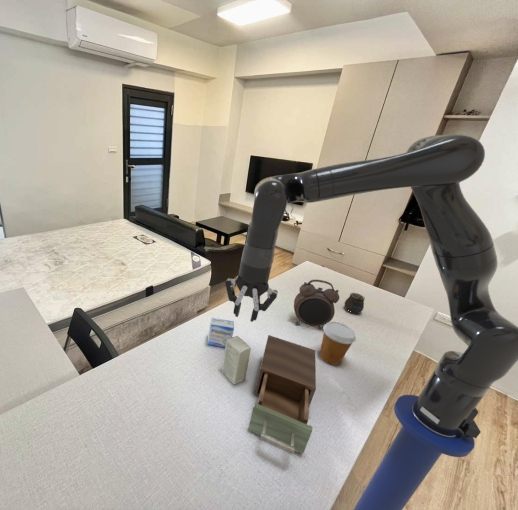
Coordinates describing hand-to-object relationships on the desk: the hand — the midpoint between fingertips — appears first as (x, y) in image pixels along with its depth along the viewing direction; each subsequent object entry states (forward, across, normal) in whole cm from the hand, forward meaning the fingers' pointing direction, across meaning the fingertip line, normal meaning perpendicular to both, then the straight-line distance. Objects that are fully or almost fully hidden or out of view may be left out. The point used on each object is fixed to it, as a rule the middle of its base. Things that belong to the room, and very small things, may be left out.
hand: (244, 317), depth 75 cm
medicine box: (+21, -8, +12) cm, 26 cm away
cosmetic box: (+21, 0, 0) cm, 21 cm away
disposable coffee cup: (+21, +28, +24) cm, 43 cm away
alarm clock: (+21, +21, +41) cm, 51 cm away
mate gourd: (+21, +39, +63) cm, 77 cm away
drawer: (+20, +14, -11) cm, 27 cm away
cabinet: (+21, +14, +4) cm, 26 cm away
